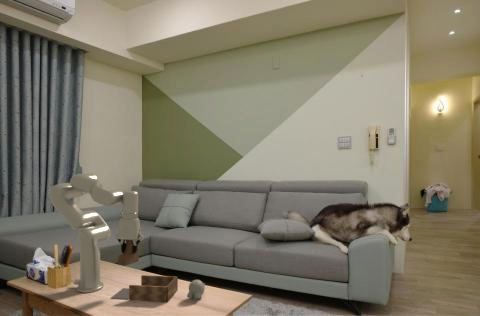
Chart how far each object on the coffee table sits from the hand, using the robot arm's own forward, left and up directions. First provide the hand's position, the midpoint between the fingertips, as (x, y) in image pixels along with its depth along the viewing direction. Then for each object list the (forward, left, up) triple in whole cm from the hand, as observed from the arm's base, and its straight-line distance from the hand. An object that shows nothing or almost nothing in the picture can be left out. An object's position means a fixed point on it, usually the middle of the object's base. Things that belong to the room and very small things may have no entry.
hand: (129, 252), depth 159 cm
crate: (+13, 0, -21) cm, 24 cm away
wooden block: (0, 0, -6) cm, 6 cm away
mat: (-2, 0, -21) cm, 21 cm away
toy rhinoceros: (+35, 0, -21) cm, 41 cm away
